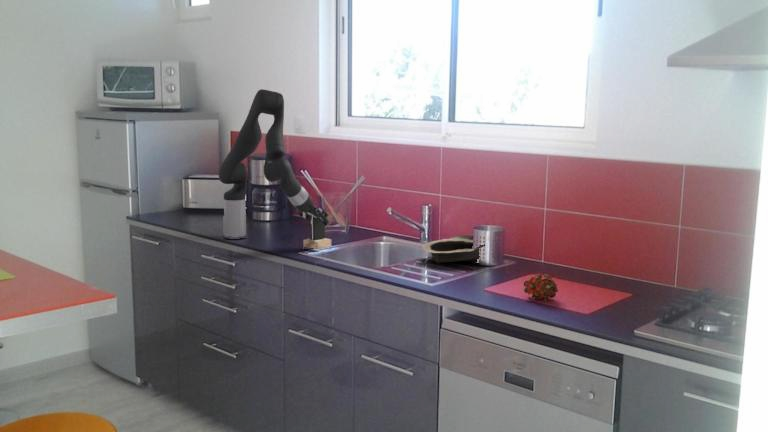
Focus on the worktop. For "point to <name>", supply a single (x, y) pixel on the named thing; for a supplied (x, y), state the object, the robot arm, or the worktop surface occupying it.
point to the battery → (316, 228)
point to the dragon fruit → (541, 287)
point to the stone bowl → (453, 249)
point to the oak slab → (317, 243)
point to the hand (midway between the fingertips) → (319, 223)
